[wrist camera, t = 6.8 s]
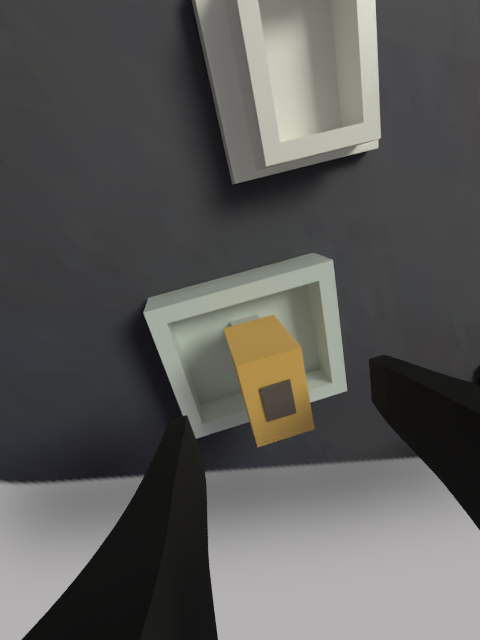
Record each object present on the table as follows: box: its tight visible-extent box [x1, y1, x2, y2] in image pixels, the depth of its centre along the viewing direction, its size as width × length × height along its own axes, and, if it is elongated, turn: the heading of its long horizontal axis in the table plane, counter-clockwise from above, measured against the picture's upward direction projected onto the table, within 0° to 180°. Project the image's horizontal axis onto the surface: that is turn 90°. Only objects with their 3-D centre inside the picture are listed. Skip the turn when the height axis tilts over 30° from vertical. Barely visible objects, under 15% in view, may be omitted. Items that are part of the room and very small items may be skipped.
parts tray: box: [143, 253, 347, 439], centre depth 16 cm, size 8×9×2 cm
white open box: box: [192, 0, 381, 185], centre depth 12 cm, size 7×7×3 cm
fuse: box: [224, 314, 314, 447], centre depth 14 cm, size 4×2×6 cm, turn 13°
